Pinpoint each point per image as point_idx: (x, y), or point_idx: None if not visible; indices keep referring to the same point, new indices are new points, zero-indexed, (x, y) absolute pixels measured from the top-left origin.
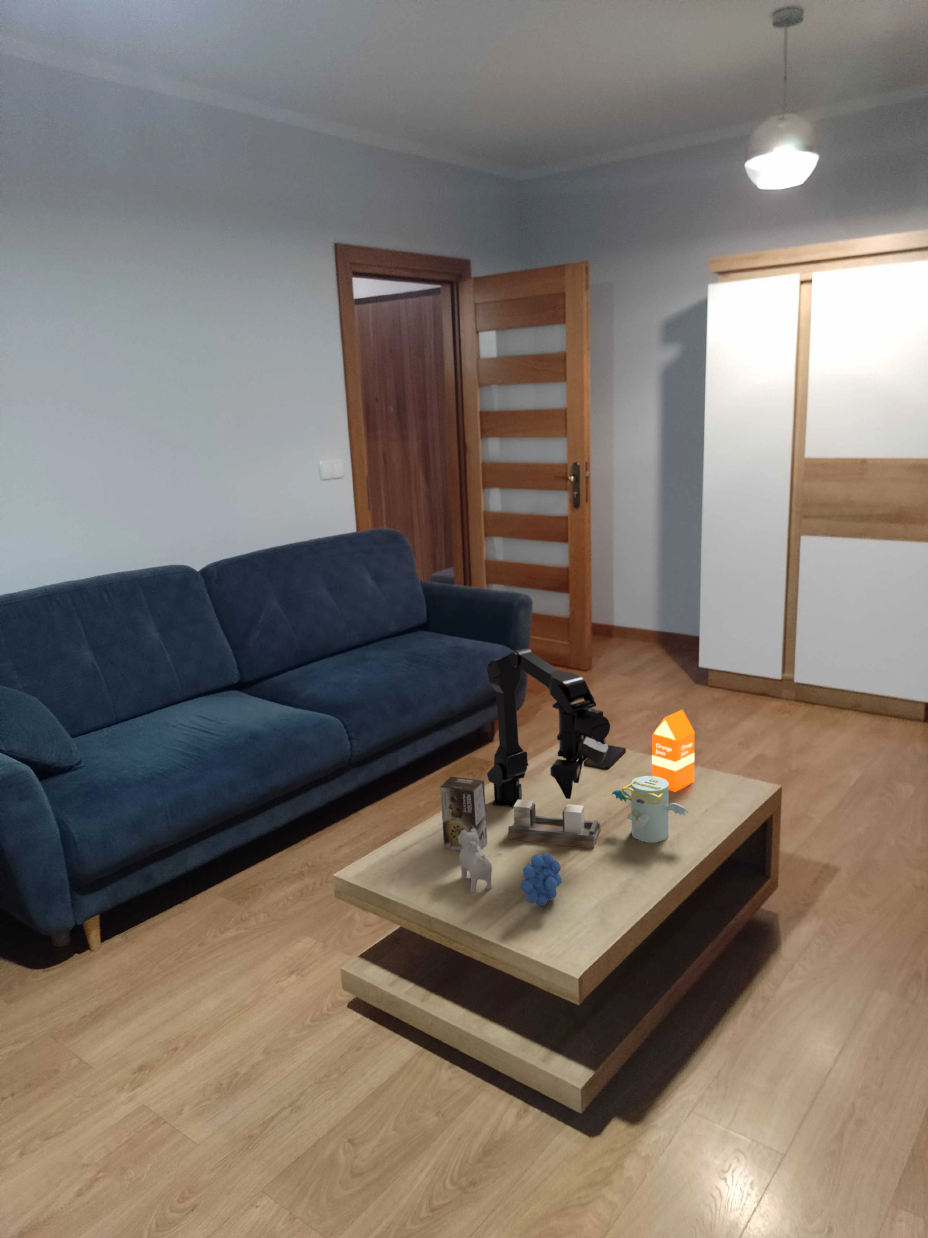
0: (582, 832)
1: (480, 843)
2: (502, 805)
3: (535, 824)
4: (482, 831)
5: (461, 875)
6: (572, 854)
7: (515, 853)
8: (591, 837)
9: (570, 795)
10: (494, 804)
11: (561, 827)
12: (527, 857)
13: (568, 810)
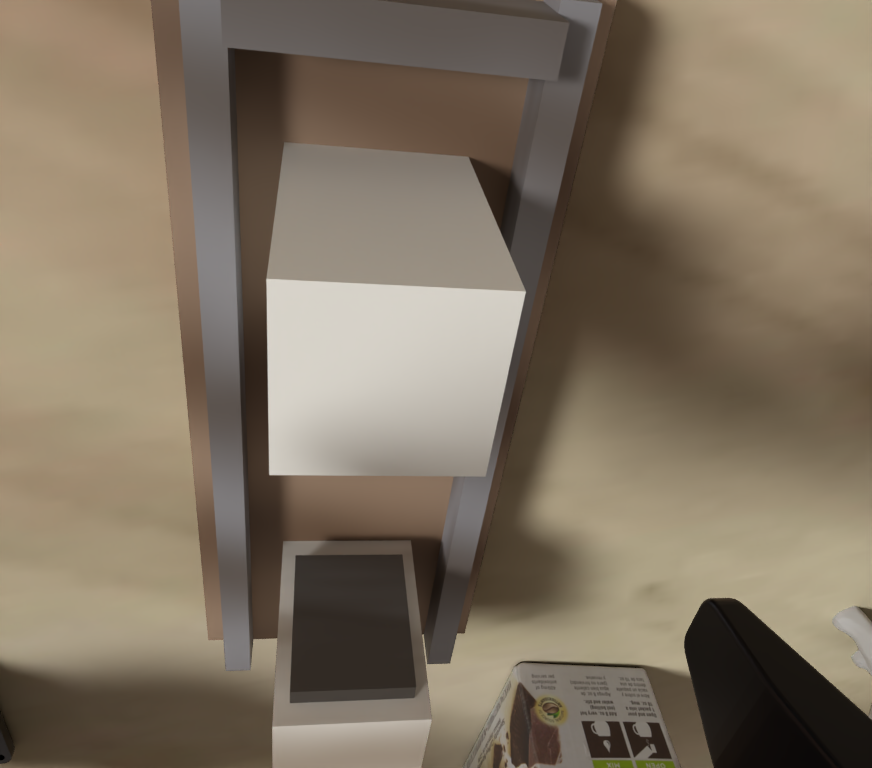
0: (391, 152)
1: (620, 704)
2: (1, 717)
3: (299, 532)
4: (606, 763)
5: (860, 667)
6: (699, 184)
7: (647, 530)
8: (586, 35)
9: (803, 659)
10: (12, 748)
11: None
12: (707, 466)
13: (460, 439)
